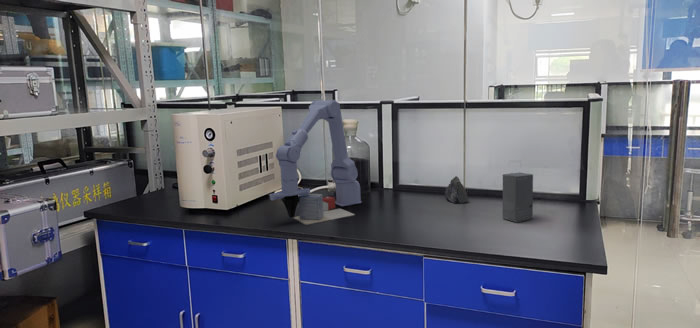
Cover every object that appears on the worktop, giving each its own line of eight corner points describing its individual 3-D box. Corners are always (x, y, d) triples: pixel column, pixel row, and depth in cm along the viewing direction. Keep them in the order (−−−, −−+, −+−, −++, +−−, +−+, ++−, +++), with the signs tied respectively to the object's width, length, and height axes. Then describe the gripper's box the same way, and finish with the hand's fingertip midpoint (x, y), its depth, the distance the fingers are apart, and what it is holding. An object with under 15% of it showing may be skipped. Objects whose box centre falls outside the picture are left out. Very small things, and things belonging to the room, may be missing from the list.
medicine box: (324, 217, 180) (323, 193, 178) (319, 220, 175) (318, 196, 174) (304, 215, 182) (303, 193, 181) (299, 219, 178) (297, 195, 177)
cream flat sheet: (340, 209, 191) (340, 208, 191) (354, 215, 182) (354, 214, 182) (292, 217, 181) (292, 217, 181) (305, 224, 172) (305, 224, 172)
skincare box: (515, 223, 164) (516, 176, 162) (500, 218, 171) (501, 173, 168) (534, 219, 168) (535, 173, 165) (518, 214, 174) (519, 170, 172)
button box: (319, 206, 196) (318, 199, 195) (328, 210, 189) (328, 203, 188) (300, 210, 192) (300, 202, 191) (309, 214, 185) (309, 206, 184)
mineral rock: (447, 195, 206) (446, 172, 205) (473, 197, 202) (473, 173, 200) (439, 202, 195) (439, 178, 193) (466, 204, 190) (466, 179, 189)
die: (329, 206, 196) (328, 195, 195) (335, 207, 193) (334, 196, 192) (321, 208, 194) (320, 197, 193) (327, 209, 191) (326, 198, 190)
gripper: (303, 175, 179) (305, 211, 182) (265, 180, 172) (268, 217, 174) (311, 178, 173) (313, 215, 176) (273, 183, 166) (275, 222, 168)
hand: (291, 216), depth 175 cm, fingers closed
